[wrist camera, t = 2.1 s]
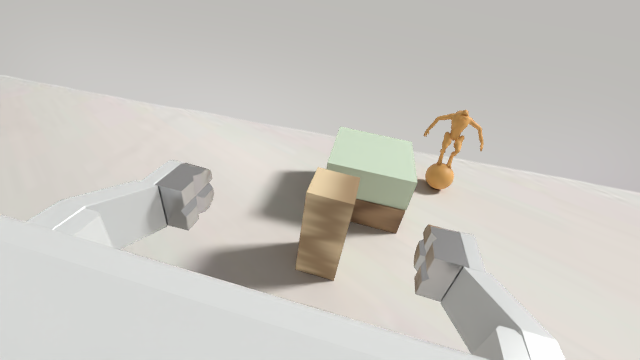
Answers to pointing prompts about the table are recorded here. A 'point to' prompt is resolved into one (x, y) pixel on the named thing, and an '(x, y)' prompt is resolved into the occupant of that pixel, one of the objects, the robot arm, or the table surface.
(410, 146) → the pale green square slab
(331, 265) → the oak post
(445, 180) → the figurine
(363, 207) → the tower base
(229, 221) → the table surface
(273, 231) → the table surface
